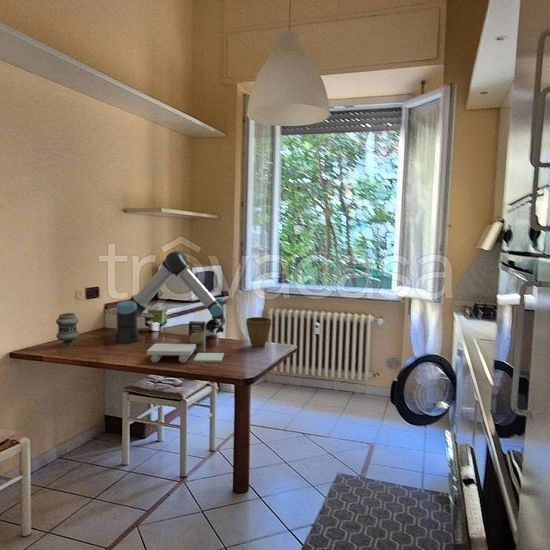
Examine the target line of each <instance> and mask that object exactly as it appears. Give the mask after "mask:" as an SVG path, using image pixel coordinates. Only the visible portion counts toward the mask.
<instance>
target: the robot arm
mask: <svg viewBox="0 0 550 550" xmlns="http://www.w3.org/2000/svg"><path fill="white" fill-rule="evenodd" d="M187 261H188V260H187V256H186V254H184V253H183V252H182V251H180V250H173V251H171V252H169V253H168V254H167V255H166V256H165V259H164V260H163V261H162V262H161V267H160V268H159V269H158V270H157V272H155V274H154V275H153V276H152V277H151V278H150V279H149V280H148V282H146V284H145V285H144V286H143V287H142V288H141V289H140V291H138V293H136V294H133V295H131V297H130V298H129V299H128V300H124V301H119V302H117V304H116V308H115V310H116V330H115V334H114V336H113V342H114V343H117V344H131V343H137V342H139V341H141V334H140V333H139V329H138V318H140V317H141V315H142V314H143V312H144V311H145V310H146V309H147V308H148V304H149V302H150V301H151V300H152V299H153V298H154V297H155V296H156V294H157V293H159V291H160V290H162V289H161V288H163V287H164V285H165V284H166V283H167V282H168V281H169V280H170V279H171V278H172V277H174V276H175V277H179V279H180V280H182V282H183V283H184V284H185V285H186V287H188V289H189V290H190V291H191V292H192V293H193V294H194V296H196V298H197V299H198V300H199V301H200V302H201V303H202V304H203V306H205V308H206V309H207V310H208V311H209V313H210V315H211V318H210V319H209V320H208V321H206V331H208V332H211V333H213V336H215V335H217V334H218V333H219V334H220V333H224V325H225V324H226V318H225V316H224V298H222V297H215V296H213V294H212V293H210V292H209V290H208V289H207V288H206V286H204V284H202V282H201V281H200V279H198V278H197V277H196V275H195V274H194V273H193V272H192V271H191V269H189V268H190V266H189V265H188V264H187V263H188V262H187Z"/></svg>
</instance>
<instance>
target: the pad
mask: <svg viewBox="0 0 550 550" xmlns="http://www.w3.org/2000/svg"><path fill="white" fill-rule="evenodd" d="M224 355H225V353H224V352H197V354H196V355H195V357H194V359H193V362H194V363H195V362H197V363H200V362H203V363H209V362H210V363H221V362H222V361H223V358H224Z"/></svg>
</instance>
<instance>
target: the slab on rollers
mask: <svg viewBox="0 0 550 550" xmlns="http://www.w3.org/2000/svg"><path fill="white" fill-rule="evenodd" d="M195 348H196V344H189V343H154V344H153V345H152V346H150V347H149V348H148V349H147V350H146V355H147V356H148V355H149V356H151V357H150V361H151V362H152V363H154V364H155V362H156V363H158V362H159V361H160V360H161V358H163V357H164V356H179V357H178V362H180V363H182V364H184V363H186V362H187V360H188V359H189V358H190V356H192V354H193V353H194V352H193V351H194V350H195Z"/></svg>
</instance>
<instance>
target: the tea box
mask: <svg viewBox="0 0 550 550" xmlns="http://www.w3.org/2000/svg"><path fill="white" fill-rule="evenodd" d="M167 311H168V312H169V309H168V307H167V306H153V307H151V308H149V309H147V315H148V314H153V315H154V318H153V319H150V320H149V321H153V322H158V323H160V332H163V331H164V330H163V328H164V327H165V326H166V323H167V315H166V312H167ZM167 324H168V323H167Z"/></svg>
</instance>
